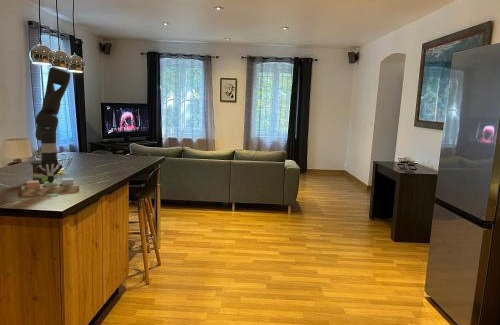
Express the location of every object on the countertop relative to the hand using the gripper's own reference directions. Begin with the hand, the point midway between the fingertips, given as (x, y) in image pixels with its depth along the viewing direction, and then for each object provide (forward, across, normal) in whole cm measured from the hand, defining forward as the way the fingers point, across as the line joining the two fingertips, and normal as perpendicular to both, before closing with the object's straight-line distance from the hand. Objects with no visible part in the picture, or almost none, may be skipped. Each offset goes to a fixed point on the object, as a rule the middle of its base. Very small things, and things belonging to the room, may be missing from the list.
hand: (50, 182), depth 201 cm
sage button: (+4, 0, 0) cm, 4 cm away
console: (+5, 0, 0) cm, 5 cm away
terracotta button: (+3, +8, 0) cm, 9 cm away
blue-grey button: (+3, -8, 0) cm, 9 cm away
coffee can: (+6, +4, -19) cm, 20 cm away
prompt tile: (+5, 0, +8) cm, 10 cm away
